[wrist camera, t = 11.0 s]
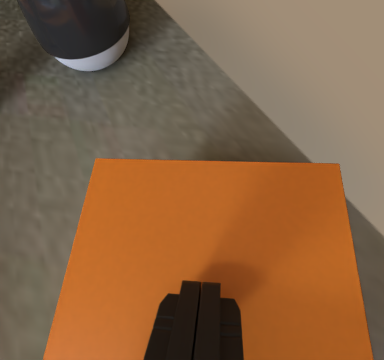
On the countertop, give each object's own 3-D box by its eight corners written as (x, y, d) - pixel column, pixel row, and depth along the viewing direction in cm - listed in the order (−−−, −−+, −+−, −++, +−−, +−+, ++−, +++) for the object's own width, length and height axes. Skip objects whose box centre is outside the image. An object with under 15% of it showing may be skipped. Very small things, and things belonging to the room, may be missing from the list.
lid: (101, 165, 15) (95, 158, 14) (333, 170, 14) (339, 163, 13) (-15, 628, 8) (-37, 659, 8) (426, 742, 7) (451, 795, 6)
